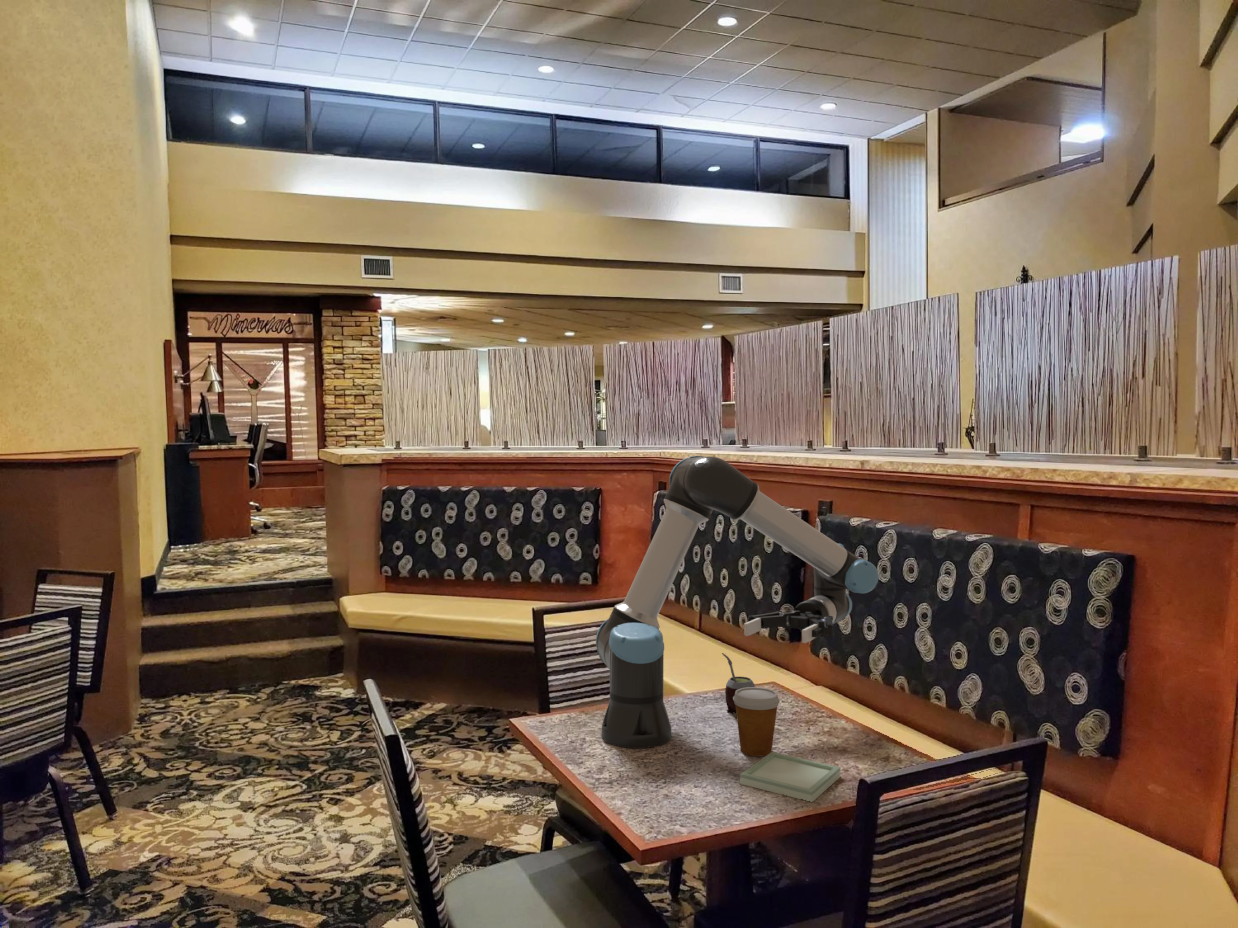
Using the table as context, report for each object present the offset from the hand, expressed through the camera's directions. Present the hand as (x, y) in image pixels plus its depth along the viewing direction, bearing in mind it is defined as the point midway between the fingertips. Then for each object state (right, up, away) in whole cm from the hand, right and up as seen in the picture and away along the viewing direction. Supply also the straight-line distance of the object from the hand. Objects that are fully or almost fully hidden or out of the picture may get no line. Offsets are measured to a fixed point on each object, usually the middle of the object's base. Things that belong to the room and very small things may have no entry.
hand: (773, 633), depth 176 cm
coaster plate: (-1, -23, -22) cm, 32 cm away
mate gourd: (-5, -23, +18) cm, 29 cm away
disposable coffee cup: (-5, -23, -7) cm, 25 cm away
